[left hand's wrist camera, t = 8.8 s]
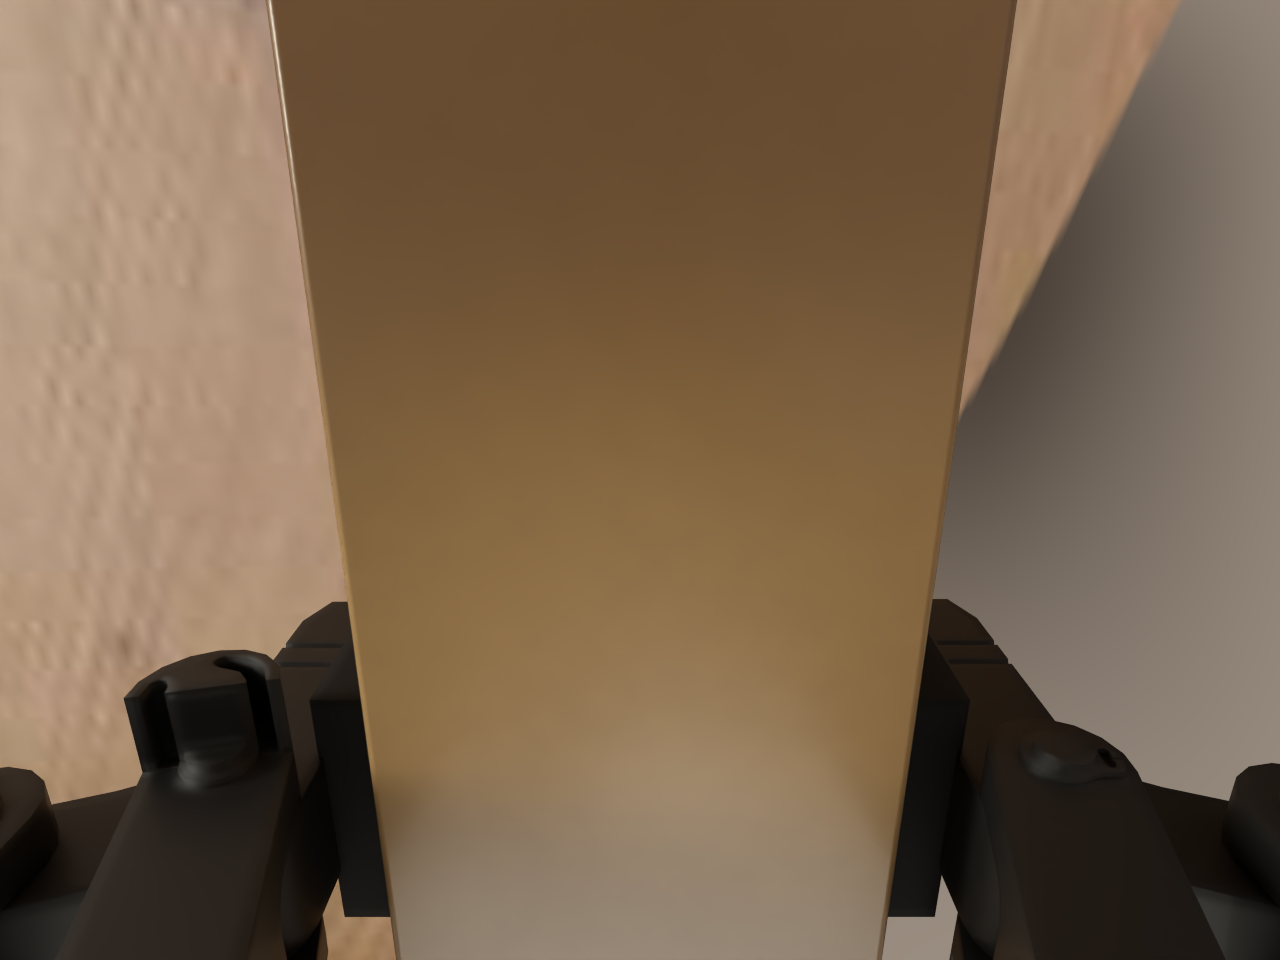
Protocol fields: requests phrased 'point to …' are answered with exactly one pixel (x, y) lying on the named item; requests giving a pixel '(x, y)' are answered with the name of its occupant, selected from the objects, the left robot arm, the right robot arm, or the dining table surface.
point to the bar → (640, 445)
